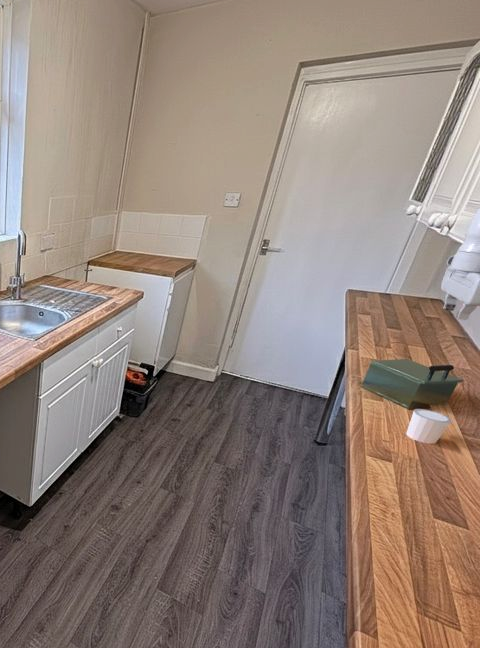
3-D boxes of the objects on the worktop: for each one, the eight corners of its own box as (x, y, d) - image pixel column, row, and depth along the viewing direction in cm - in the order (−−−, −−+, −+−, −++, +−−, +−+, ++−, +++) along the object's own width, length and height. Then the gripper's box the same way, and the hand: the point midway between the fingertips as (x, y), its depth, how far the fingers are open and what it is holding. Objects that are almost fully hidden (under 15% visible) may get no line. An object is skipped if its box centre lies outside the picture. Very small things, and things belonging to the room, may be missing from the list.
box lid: (462, 382, 120) (470, 367, 118) (423, 384, 119) (431, 369, 117) (405, 361, 134) (412, 347, 132) (370, 362, 133) (376, 349, 131)
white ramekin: (443, 440, 108) (455, 417, 106) (434, 448, 105) (446, 425, 103) (408, 427, 114) (418, 406, 111) (398, 435, 111) (409, 412, 108)
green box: (445, 407, 124) (458, 381, 121) (407, 409, 123) (420, 383, 120) (394, 385, 138) (405, 361, 134) (360, 387, 136) (370, 362, 133)
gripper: (516, 271, 97) (488, 326, 103) (478, 258, 113) (456, 307, 119) (477, 268, 100) (452, 322, 106) (446, 256, 116) (426, 304, 122)
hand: (454, 314), depth 112 cm, fingers open, 8 cm apart
